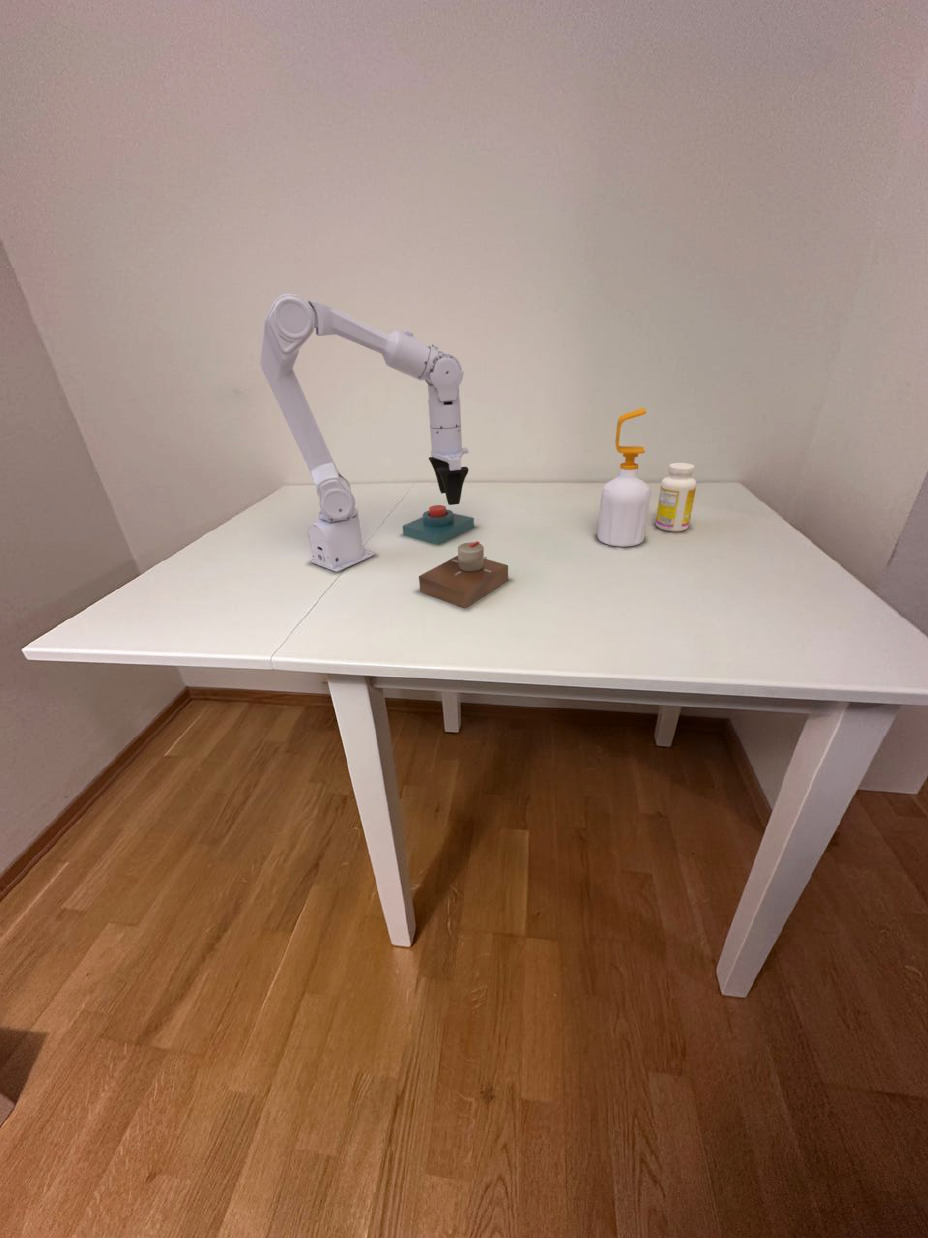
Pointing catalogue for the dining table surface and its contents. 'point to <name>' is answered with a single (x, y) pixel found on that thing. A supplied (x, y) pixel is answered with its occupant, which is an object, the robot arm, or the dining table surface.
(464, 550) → the knob
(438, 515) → the button
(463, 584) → the knob panel
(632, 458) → the soap bottle
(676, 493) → the supplement bottle
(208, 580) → the dining table surface
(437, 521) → the button console
